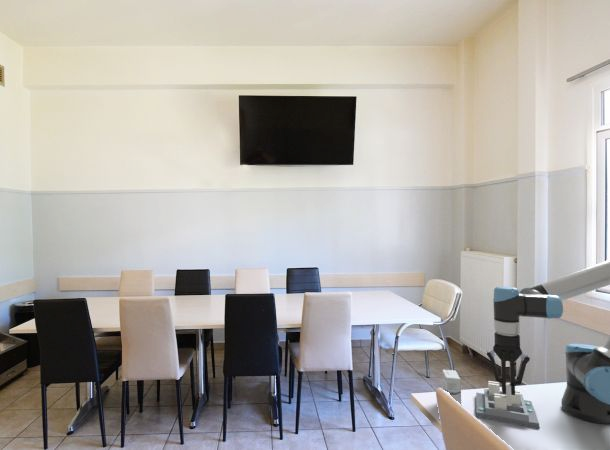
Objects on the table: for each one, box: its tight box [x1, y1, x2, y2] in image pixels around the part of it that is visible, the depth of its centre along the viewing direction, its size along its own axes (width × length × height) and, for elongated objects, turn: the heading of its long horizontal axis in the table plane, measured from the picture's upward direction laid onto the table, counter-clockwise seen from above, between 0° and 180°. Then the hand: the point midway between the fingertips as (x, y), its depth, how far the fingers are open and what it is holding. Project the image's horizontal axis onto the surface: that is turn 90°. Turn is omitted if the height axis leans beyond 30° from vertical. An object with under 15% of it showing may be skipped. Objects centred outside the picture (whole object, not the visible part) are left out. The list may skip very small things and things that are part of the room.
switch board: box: [475, 388, 540, 429], centre depth 125 cm, size 18×17×4 cm
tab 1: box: [488, 380, 501, 395], centre depth 132 cm, size 4×3×6 cm
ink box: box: [442, 369, 462, 405], centre depth 129 cm, size 8×5×12 cm, turn 168°
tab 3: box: [511, 389, 521, 406], centre depth 124 cm, size 4×3×6 cm
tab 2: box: [494, 393, 507, 410], centre depth 121 cm, size 4×3×6 cm
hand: (508, 403), depth 120 cm, fingers closed
